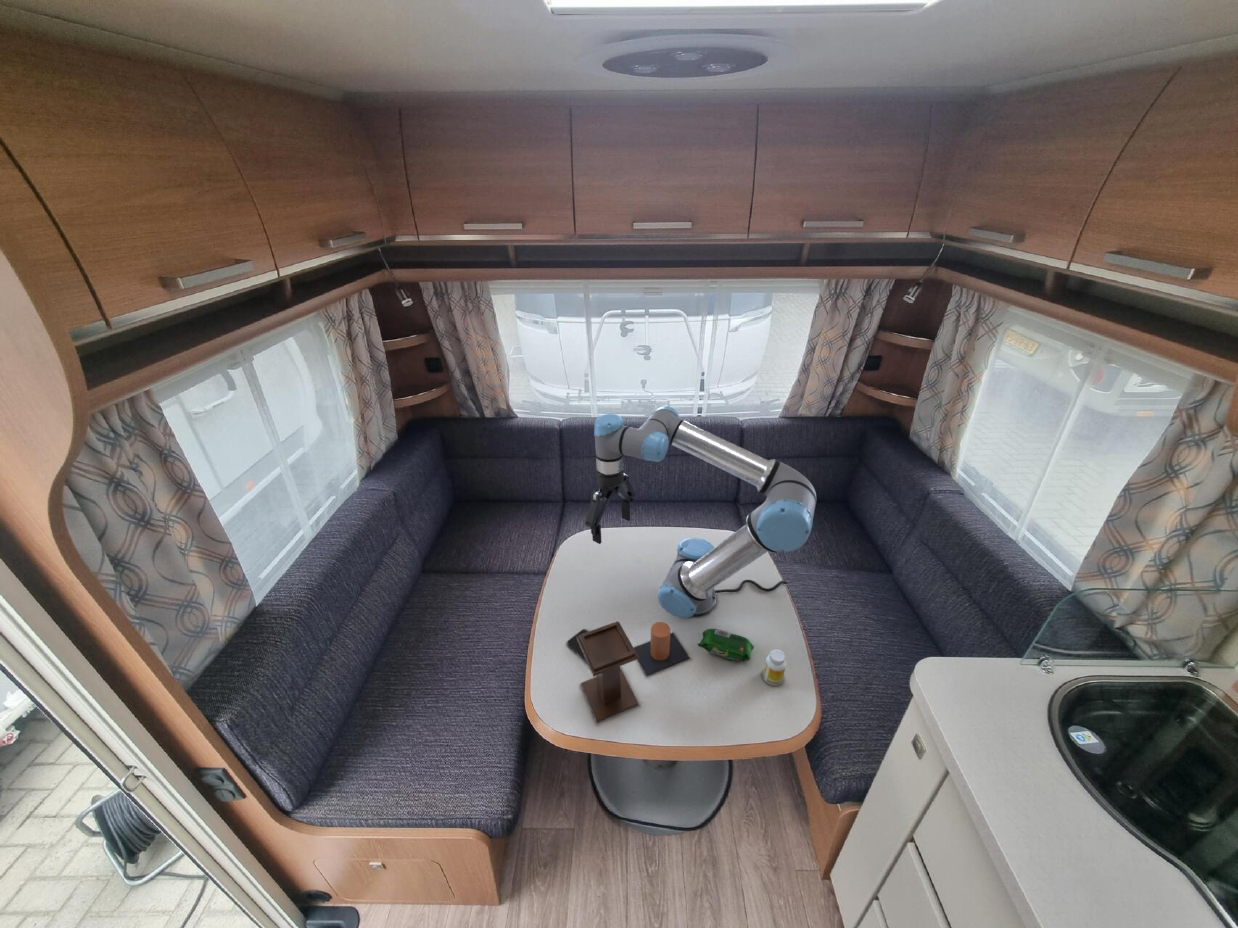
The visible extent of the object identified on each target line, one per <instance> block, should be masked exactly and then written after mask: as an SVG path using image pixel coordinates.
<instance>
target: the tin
mask: <svg viewBox="0 0 1238 928" xmlns="http://www.w3.org/2000/svg"><path fill="white" fill-rule="evenodd" d="M671 631H672V629H671V626H670V625H669V624H668V623H667V622H664V621H656V622H653V623H652V625H651V627H650V641H651V649H650V653H651V656H652V657H653V658H654V659H656V660H659V661H662V660H665V659H667V658H668V656H669V651H670V633H671Z"/></svg>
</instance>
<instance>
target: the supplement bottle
mask: <svg viewBox="0 0 1238 928" xmlns="http://www.w3.org/2000/svg"><path fill="white" fill-rule="evenodd" d="M786 668H787V661H786V654H785V653H784V651H782V650H780V649H778V648H776V649H775V648H774V649H771V650H770V653H769V654H768V655H767V656H766V658H765V661H764V667H763V671H762V678H763V680H764V681H765V682H766V683H767V684H768V685H771V686H778V685H780V684H782V683H783V680H784V676H785V672H786Z"/></svg>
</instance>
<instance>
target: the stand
mask: <svg viewBox="0 0 1238 928" xmlns="http://www.w3.org/2000/svg"><path fill="white" fill-rule="evenodd" d="M588 631H589V632H586V633H583V634H580V635H579V636H578V637H577V641H578V643H579V645H580V648H581V650H582V652H583V654H584V657H585V659H586V661H587V662H586V661H585V662H586V664H587V666H588V667H589V670H590V672H591V674H592V677H593V678H590V679H588V680H585V681H583V682H580V686H581V688H582V691H583V693H584V697H585V698H586V701H587V704H588V706H589V708H590V710H591V713H592V715H593V718H594V720H595V723H597V724H598V723H600V722H602V721H606V720H607V719H610V718H612V717H614V716H617V715H619V714H622V713H624V712H627V711H628V710H631V709H633V708H635V707H638V706H639V702H638V699H637V698H636V696H635V693H634V692H633V690H632V688H631V686H630V683H629V681H628V680H627V678H626V676H625V674H624V672H623V670H622V668H621V667H623V666H625V665H627V664H629V663H632V662H634V661H638V655H637V653H636V651H635V649H634V646H633V644H632V642H631V641H630V639H629V637H628V635H627V633H626V631H625V630H624V628H623V626H622V624H621V622H620V621H618V620H617V621H614V622H611V623H609V624H605V625H603V626H601V627H597V628H595V629H591V630H588Z"/></svg>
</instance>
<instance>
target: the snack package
mask: <svg viewBox="0 0 1238 928" xmlns="http://www.w3.org/2000/svg"><path fill="white" fill-rule="evenodd" d="M697 647H699V648H704V649H705V651H707V652H708V653H711V654H713V655H715V656H719V657H721V658H725V659H728V660H732V661H736V662H743V663H744V662H748V661H750V660H751V657H752V651H754V648H755V646H754V645H753V643H752V642H751V640H750V639H748V638H746V636H742V635H740V634H736V633H732V632H729V631H726V630H722V629H717V628H708V629H706V630H704V631H703V632H702V638H701V640H700V642H698V643H697Z"/></svg>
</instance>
